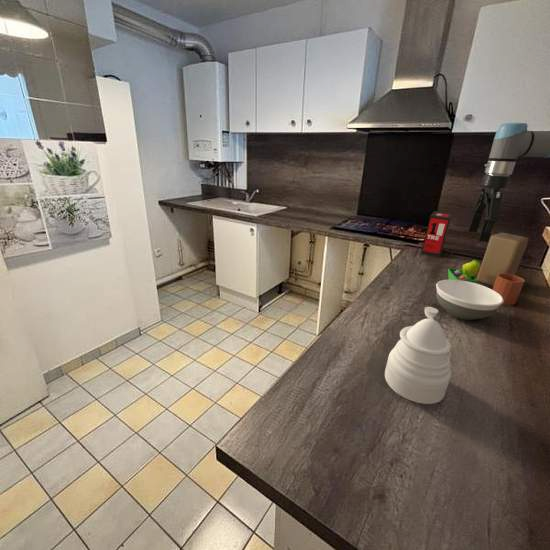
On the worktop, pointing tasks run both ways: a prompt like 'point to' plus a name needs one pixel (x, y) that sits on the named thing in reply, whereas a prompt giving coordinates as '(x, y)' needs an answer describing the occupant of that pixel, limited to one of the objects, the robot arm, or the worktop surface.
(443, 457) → the worktop surface
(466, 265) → the fruit basket
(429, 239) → the cleaning product box
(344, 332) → the worktop surface
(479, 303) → the bowl
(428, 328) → the honey pot
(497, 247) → the wooden block
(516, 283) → the terracotta plant pot
